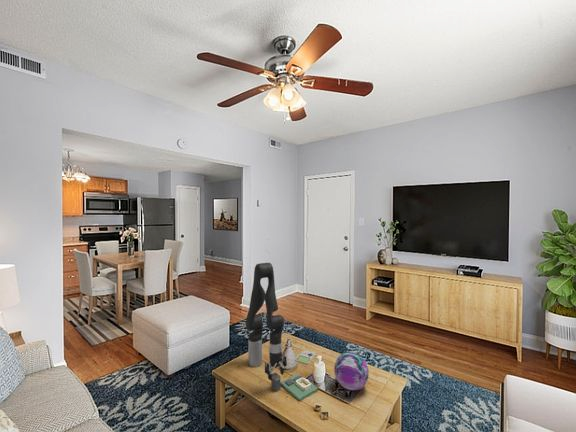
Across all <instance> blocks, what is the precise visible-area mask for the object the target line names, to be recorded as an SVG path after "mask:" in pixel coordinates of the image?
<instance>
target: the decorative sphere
mask: <svg viewBox="0 0 576 432" xmlns="http://www.w3.org/2000/svg"><path fill="white" fill-rule="evenodd" d="M333 370H334V375H335V378H336V381H337V382H338V383H339V385H340V386H342V387H343V388H344V389H346V390H348V391H358V390H361V389H362V388H363V387H365V386H366V384H367V383H368V380H369V374H370V372H369V368H368V364H367V361H366V360H365V359H364V358H363V356H361V355H360V354H358V353H357V352H354V351H346V352H343V353H341V354H340V355H338V356H337V358H336V360H335V362H334V367H333Z"/></svg>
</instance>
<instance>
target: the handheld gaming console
mask: <svg viewBox="0 0 576 432" xmlns="http://www.w3.org/2000/svg"><path fill="white" fill-rule="evenodd" d="M316 354H317V353H316V352H313V351H309V350H302V351H301V352H299V354H298V355H297V356H296V358H297V361H298V363H301V364H303V365H309V364H310V362H311V361H312V360H313V359H314V357H315V356H316ZM297 361H296V362H297Z"/></svg>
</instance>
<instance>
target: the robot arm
mask: <svg viewBox="0 0 576 432" xmlns="http://www.w3.org/2000/svg"><path fill="white" fill-rule="evenodd" d="M266 278H267V281H268V283H267V288H266V291H265V289H264V288H263V285H262V284H261V280H262V279H266ZM264 303H265V307H266V319H265V324H266V328H267V329H268V330H269V331H270V333H269V345H268V348H269V349H268V351H269V353H268V354H269V355H268V356H269V361H268V362H267V361H266V362H265V363H264V373H265V374H266V375H267V378H268V380H269V381H271V380H272V374H273V371H274V370H275V369H277V368H278V367H279V368H280V370H279V372H280V374H281V375H282V376H283V375H284V373H285V367H287V366H288V365H287V364H288V363H287V356H286V355H284V354H283V345H282V333H283V330H284V325H285V319H284V317H283V315H281V314H277V315H273V313H275V312H277V311H278V310H279V306H278V301H277V295H276V286H275V272H274V267H273V265H272V263H271V262H263V263H257V264H255V266H254V271H253V284H252V290H251V294H250V302H249V307H248V312H247V314H246V319H245V327H246V329H247V331H249V332H250V331H251V332H250V333H249V334H248V349H247V351H248V352H247V355H248V357H247V358H248V359H247V360H248V366H249V367H252V368H257V367H261V365H263V329H264V327H263V325H264V322H263V316H262V315H261V314H257V313H258V312H259V311H260V310H261V308H262V307H263V305H264ZM271 330H272V331H271Z"/></svg>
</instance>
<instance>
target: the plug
mask: <svg viewBox="0 0 576 432" xmlns="http://www.w3.org/2000/svg"><path fill="white" fill-rule="evenodd" d="M271 374H272V380H270V382H271V385H270V388H271V389H272V390H274V391H275V392H278V391H280V390H282V389H281V388H282V386H281V383H280V382H281V376H280V374H278V373H277V372H275V371H274V372H272V373H271Z"/></svg>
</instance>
